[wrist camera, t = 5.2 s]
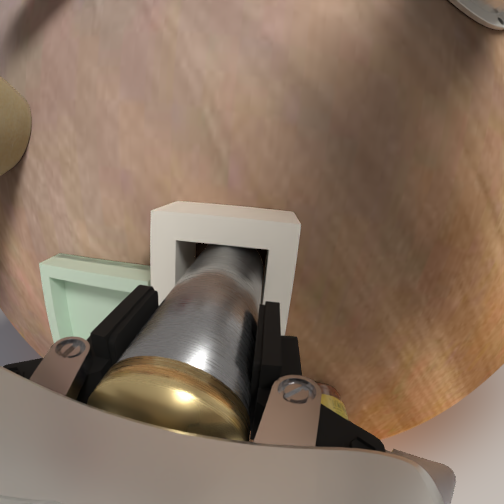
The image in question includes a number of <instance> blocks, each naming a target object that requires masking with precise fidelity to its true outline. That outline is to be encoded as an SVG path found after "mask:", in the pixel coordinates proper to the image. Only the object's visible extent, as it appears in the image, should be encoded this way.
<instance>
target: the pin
mask: <svg viewBox="0 0 504 504" xmlns="http://www.w3.org/2000/svg"><path fill="white" fill-rule="evenodd" d="M262 280H263V262H262V259H261V256H260V254H259V253H258V251H257V250H256V249H255V248H248V247H238V246H228V245H219V244H208V245H207V246H206V247H205V249H204V250H203V251H202V252H201V254H200V255H199V256H198V257H197V259H196V260H195V261H194V262H193V264H192V265H191V266H190V267H189V269H188V270H187V271H186V272H185V274H184V275H183V276H182V277H181V279H180V280H179V281H178V282H177V284H176V285H175V286H174V287H173V289H172V290H171V291H170V293H169V294H168V295H167V296H166V298H165V299H164V300H163V302H162V303H161V304H160V305H159V307H158V308H157V309H156V311H155V312H154V313H153V315H152V316H151V317H150V318H149V320H148V321H147V322H146V324H145V325H144V326H143V328H142V329H141V330H140V332H139V333H138V334H137V336H136V337H135V338H134V340H133V341H132V342H131V344H130V345H129V346H128V348H127V349H126V350H125V352H124V353H123V354H122V356H121V357H120V358H119V360H118V361H117V363H116V364H114V365H113V366H112V367H111V368H110V369H109V370H108V371H107V373H106V374H105V376H104V377H103V378H102V380H101V381H100V382H99V384H98V385H97V387H96V388H95V389H94V391H93V392H92V394H91V395H90V397H89V399H88V402H87V404H88V405H90V406H93V407H96V408H99V409H102V410H105V411H108V412H111V413H114V414H117V415H120V416H124V417H127V418H131V419H134V420H138V421H141V422H145V423H149V424H153V425H157V426H161V427H165V428H170V429H174V430H179V431H184V432H188V433H194V434H199V435H205V436H210V437H217V438H223V439H231V440H238V441H247V442H249V435H250V418H249V416H250V406H251V395H250V388H251V378H252V369H253V360H254V350H255V341H256V331H257V322H258V313H259V305H260V303H261V292H262Z"/></svg>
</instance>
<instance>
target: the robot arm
mask: <svg viewBox="0 0 504 504" xmlns="http://www.w3.org/2000/svg"><path fill="white" fill-rule="evenodd" d="M449 1H450V2H451V3H452V4H454V5H455V6H456V7H457V8H458V9H459V10H461V11H462V12H463V13H465V14H466V15H467V16H469V17H470V18H472V19H474V20H475V21H477V22H478V23H480V24H482V25H484V26H486V27H488V28H491V29H494V30H503V29H504V0H449ZM158 307H159V304H158V292H157V291H155V290H154V288H153V287H152V286H146V285H138V286H137V287H136V288H135V289H134V290H133V291H132V292H131V293H130V294H129V295H128V296H127V297H126V298H125V299H124V300H123V301H122V302H121V303H120V304H119V305H118V306H117V307H116V308H115V309H114V310H113V311H112V312H111V313H110V314H109V315H108V316H107V317H106V318H105V319H104V320H103V321H102V322H101V323H100V324H99V325H98V326H97V327H96V328H95V329H94V330H93V331H92V332H91V333H90V336H89V337H88V339H87V340H85V339H83V338H80V337H73V336H71V337H65V338H62V339H60V340H58V341H56V342H55V343H54V344H53V345H52V347H51V348H50V350H49V351H48V353H47V354H46V355H45V357H44V358H40V359H35V360H30V361H24V362H19V363H14V364H8V365H5V366H3V367H2V366H0V504H450V503H451V500H452V496H453V492H454V487H455V483H456V476H455V474H454V472H453V471H452V470H451V469H450V468H449V467H448V466H446V465H444V464H441V463H437V462H433V461H430V460H427V459H423V458H420V457H417V456H414V455H411V454H407V453H405V452H402V451H398V450H396V449H393V451H392V452H390V451H387V450H385V448H384V445H383V444H382V442H381V441H380V440H379V439H378V438H377V437H375V436H374V435H372V434H370V433H369V432H367V431H365V430H363V429H362V428H360V427H358V426H357V425H355V424H353V423H352V422H350V421H348V420H347V419H345V418H343V417H342V416H340V415H339V414H337V413H335V412H334V411H332V410H331V409H329V408H327V407H326V406H324V405H323V404H321V396H322V393H321V389H320V387H319V385H318V384H317V383H316V382H315V381H313V380H311V379H309V378H307V377H304V376H302V372H301V364H300V355H299V347H298V339H297V337H294V336H283V335H281V324H280V303H279V302H270V301H265V305H263V304H260V305H259V313H258V322H257V331H256V341H255V350H254V360H253V369H252V378H251V388H250V395H251V406H250V416H249V418H250V431H251V437H250V439H251V440H254V442H247V441H238V440H231V439H223V438H217V437H210V436H205V435H199V434H194V433H188V432H184V431H179V430H174V429H170V428H165V427H161V426H157V425H153V424H149V423H145V422H141V421H138V420H134V419H131V418H127V417H124V416H120V415H117V414H114V413H111V412H108V411H105V410H102V409H99V408H96V407H93V406H90V405H88V404H87V402H88V399H89V397H90V395H91V394H92V392H93V391H94V389H95V388H96V387H97V385H98V384H99V382H100V381H101V380H102V378H103V377H104V376H105V374H106V373H107V371H108V370H109V369H110V368H111V367H112V366H113V365H114V364H116V363H117V361H118V360H119V358H120V357H121V356H122V354H123V353H124V352H125V350H126V349H127V348H128V346H129V345H130V344H131V342H132V341H133V340H134V338H135V337H136V336H137V334H138V333H139V332H140V330H141V329H142V328H143V326H144V325H145V324H146V322H147V321H148V320H149V318H150V317H151V316H152V315H153V313H154V312H155V311H156V309H157V308H158Z"/></svg>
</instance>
